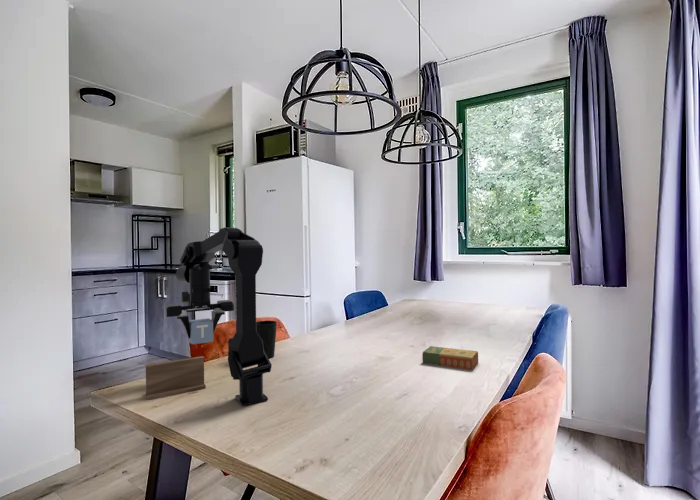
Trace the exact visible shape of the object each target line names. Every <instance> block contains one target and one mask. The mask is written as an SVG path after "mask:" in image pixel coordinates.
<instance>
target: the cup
mask: <svg viewBox="0 0 700 500" xmlns="http://www.w3.org/2000/svg"><path fill="white" fill-rule="evenodd" d="M277 323H278V322H277V321H276V320H261V321H256V332H257V333H258V335H259V337H260V338H261V340H262V341H263V349H264V351H265V353H266V355H267V357H268V359H269V360H270V358H271V359H273V358H274V357H275V351H276V350H275V349H276V340H277V339H276V337H277V325H278V324H277Z"/></svg>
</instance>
